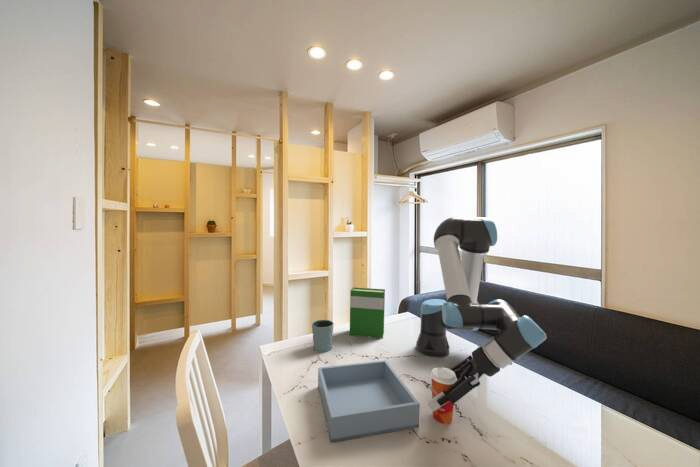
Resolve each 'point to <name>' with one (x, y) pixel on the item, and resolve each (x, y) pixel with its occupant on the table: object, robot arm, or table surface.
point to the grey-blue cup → (322, 335)
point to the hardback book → (367, 312)
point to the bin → (365, 401)
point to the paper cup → (440, 382)
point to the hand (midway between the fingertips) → (431, 398)
